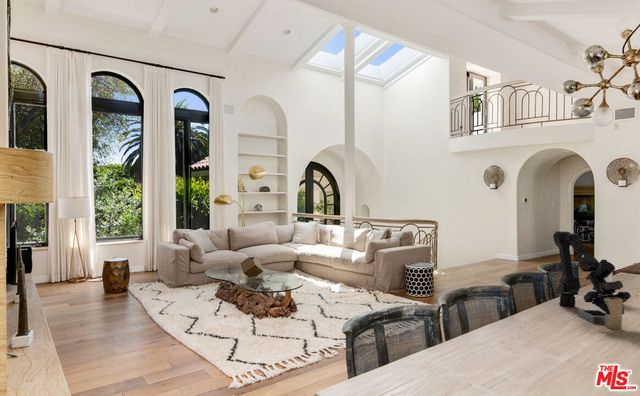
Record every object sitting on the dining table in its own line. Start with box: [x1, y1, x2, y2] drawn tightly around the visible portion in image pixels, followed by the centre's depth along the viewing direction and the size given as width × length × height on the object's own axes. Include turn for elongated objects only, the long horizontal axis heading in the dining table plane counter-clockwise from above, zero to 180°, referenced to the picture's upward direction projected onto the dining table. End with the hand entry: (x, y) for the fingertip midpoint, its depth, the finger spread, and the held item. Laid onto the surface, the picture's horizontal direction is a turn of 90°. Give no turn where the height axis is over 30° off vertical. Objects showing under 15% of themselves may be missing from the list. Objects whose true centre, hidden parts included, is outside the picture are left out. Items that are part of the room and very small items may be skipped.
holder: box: [578, 309, 606, 324], centre depth 194 cm, size 10×10×3 cm
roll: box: [604, 297, 624, 331], centre depth 182 cm, size 6×6×13 cm
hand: (616, 314), depth 181 cm, fingers closed on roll, 6 cm apart
